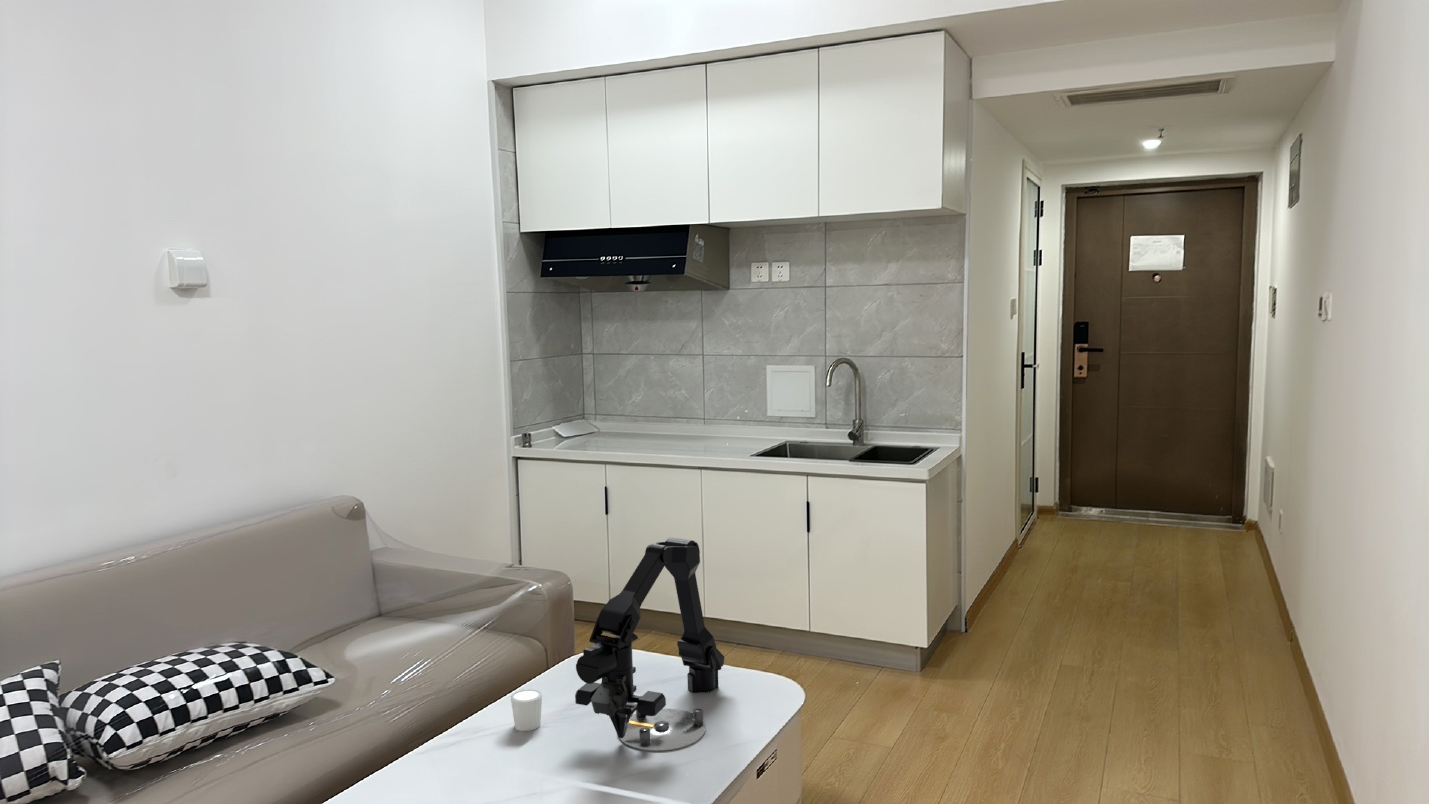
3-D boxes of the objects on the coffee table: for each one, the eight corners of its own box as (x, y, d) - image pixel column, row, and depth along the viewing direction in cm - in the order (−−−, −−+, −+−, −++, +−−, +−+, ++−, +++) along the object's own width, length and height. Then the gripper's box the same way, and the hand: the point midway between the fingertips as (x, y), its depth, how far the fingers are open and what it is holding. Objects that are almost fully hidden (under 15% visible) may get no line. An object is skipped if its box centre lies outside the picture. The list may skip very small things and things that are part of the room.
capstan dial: (718, 718, 208) (718, 702, 208) (684, 757, 191) (683, 740, 190) (641, 705, 215) (641, 690, 215) (601, 742, 198) (600, 726, 197)
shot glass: (516, 735, 204) (515, 704, 203) (508, 722, 210) (506, 692, 209) (547, 727, 207) (545, 697, 206) (538, 715, 213) (536, 686, 212)
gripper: (559, 674, 192) (562, 747, 194) (641, 687, 185) (644, 762, 187) (587, 655, 202) (590, 724, 204) (665, 666, 195) (668, 737, 197)
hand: (621, 737), depth 198 cm, fingers closed
